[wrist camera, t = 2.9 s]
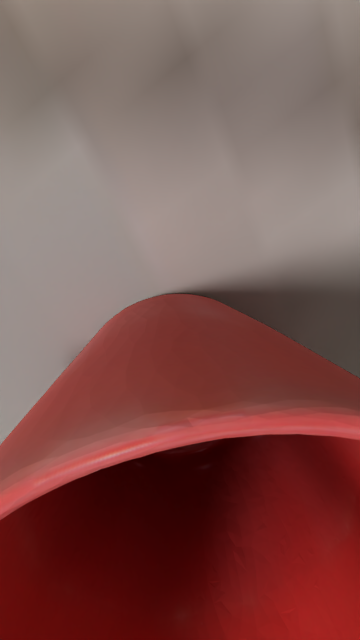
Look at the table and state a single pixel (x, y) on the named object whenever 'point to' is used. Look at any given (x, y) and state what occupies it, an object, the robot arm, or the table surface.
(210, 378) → the flower pot
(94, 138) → the table surface
